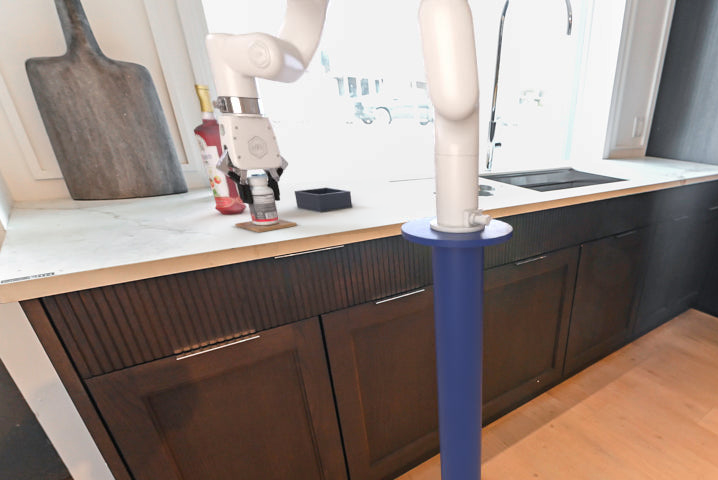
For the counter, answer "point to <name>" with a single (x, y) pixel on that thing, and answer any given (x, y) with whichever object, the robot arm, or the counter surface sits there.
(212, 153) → the liquor
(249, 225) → the coaster
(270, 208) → the pill bottle
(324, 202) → the bin
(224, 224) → the counter surface
